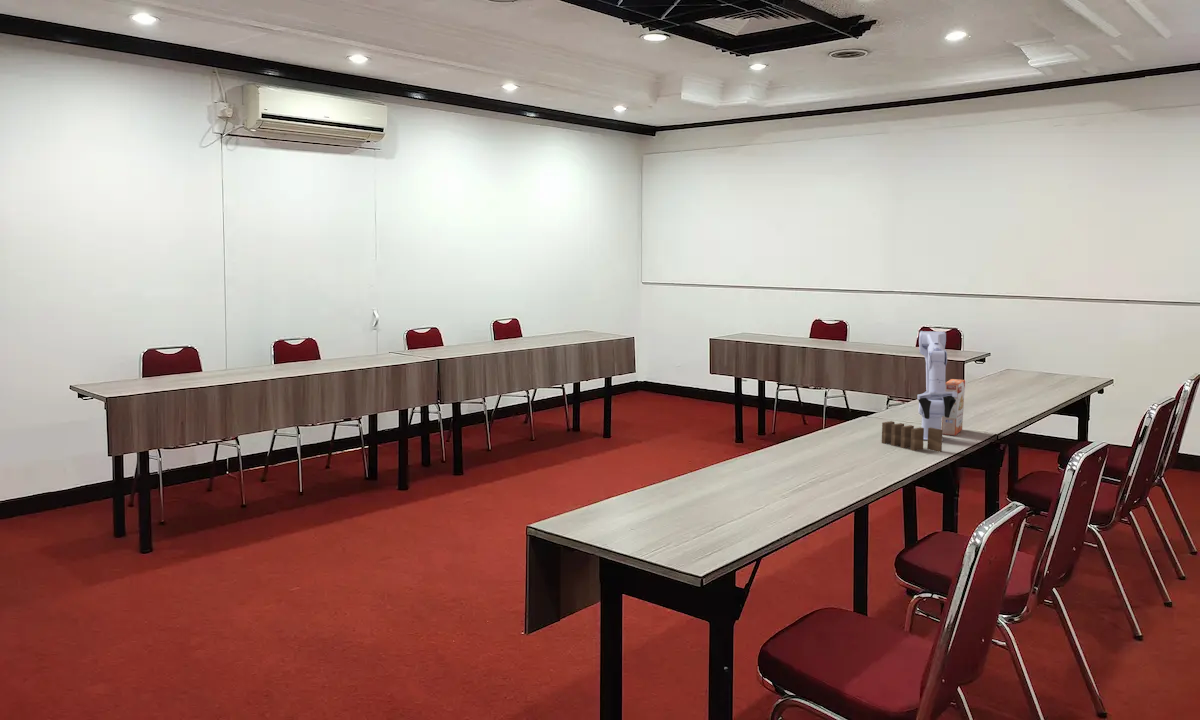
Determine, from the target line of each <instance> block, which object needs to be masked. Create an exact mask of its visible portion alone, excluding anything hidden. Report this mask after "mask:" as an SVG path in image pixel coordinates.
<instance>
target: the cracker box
mask: <svg viewBox="0 0 1200 720" xmlns="http://www.w3.org/2000/svg"><path fill="white" fill-rule="evenodd" d="M953 391H955V392H957V398H955V399H956V402H955V403H954V405H953V407H952V409H951V412H950V416H949V418H947V417H945V415H944V416H943V417H942V422H941V430H943V432H942V435H944V436H945V435H946V436H947V435H948V436H957V435H958V434H959V433H961V431H962V430H963V421H964V408H965V407H964V405H965V392H966V380H965V379H956V378H950V379H949V380H948V381H945V392H953Z"/></svg>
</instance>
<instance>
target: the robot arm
mask: <svg viewBox="0 0 1200 720" xmlns="http://www.w3.org/2000/svg"><path fill="white" fill-rule="evenodd" d="M946 342H947V332H946V331H944V330H943V331H934V330H933V331H930V330H929V331H926V330H924V331H923V330H920V331H919V334H918V345H919V346H918V350H919V354H920V355H922V356H923V357H924V359H925V388H926V389H925V390H926V391H924V392H923V393H920V394H917V400H918V414H919V415H921V428H924V438H923V441H928V428H936V429H942V417H943V416H944V415H945V417H947V418H949V416H950V412H951V409H952V407H953V405H954V403H955V402H956V399H955V398H957V392H955V391H953V392H945V383H946V367H947V364H948V352H947V350H946V345H947V343H946ZM943 441H944V439H943V438H942V442H943Z"/></svg>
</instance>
